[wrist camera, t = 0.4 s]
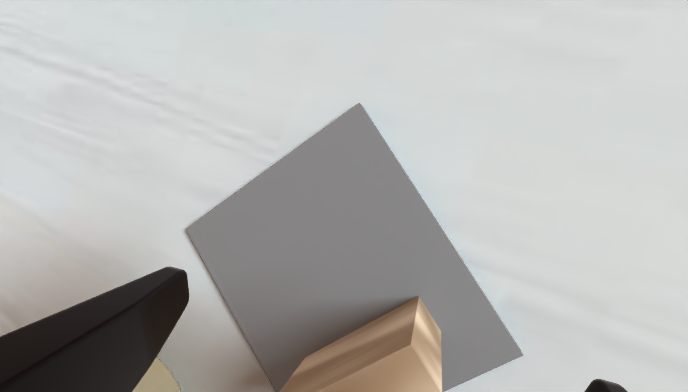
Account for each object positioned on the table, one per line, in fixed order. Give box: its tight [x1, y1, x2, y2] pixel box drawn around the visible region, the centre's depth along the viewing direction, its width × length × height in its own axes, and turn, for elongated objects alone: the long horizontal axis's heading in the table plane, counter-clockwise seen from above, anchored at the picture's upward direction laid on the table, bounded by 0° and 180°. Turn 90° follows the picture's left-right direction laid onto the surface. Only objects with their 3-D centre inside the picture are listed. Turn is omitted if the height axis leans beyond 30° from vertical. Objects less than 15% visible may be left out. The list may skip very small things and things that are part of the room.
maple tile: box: [280, 296, 442, 392], centre depth 17 cm, size 2×8×6 cm, turn 123°
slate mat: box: [186, 103, 523, 392], centre depth 21 cm, size 16×14×1 cm
